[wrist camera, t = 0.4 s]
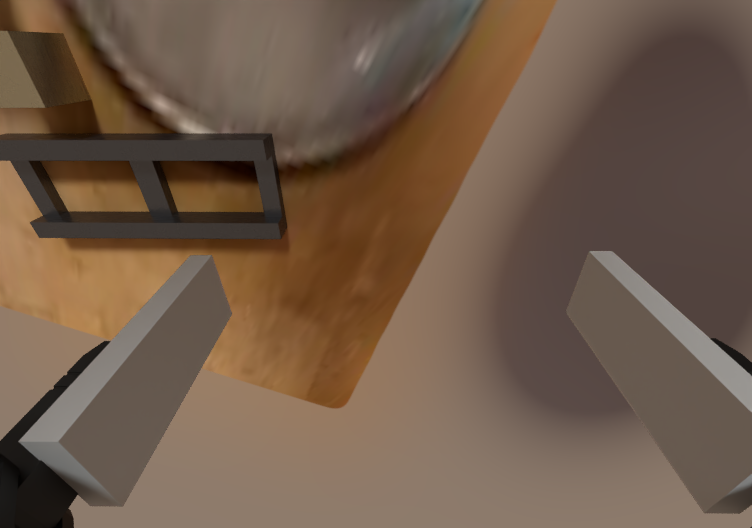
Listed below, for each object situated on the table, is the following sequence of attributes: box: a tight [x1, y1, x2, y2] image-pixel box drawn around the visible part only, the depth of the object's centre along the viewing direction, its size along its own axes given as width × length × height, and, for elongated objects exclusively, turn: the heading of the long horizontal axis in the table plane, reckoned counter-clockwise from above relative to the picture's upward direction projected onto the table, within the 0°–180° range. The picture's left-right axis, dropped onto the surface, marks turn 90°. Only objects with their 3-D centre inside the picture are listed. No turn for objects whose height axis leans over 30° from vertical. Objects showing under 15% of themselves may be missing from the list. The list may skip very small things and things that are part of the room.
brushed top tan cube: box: [0, 31, 91, 108], centre depth 30 cm, size 6×6×6 cm
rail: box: [0, 134, 287, 239], centre depth 37 cm, size 11×28×3 cm, turn 90°
